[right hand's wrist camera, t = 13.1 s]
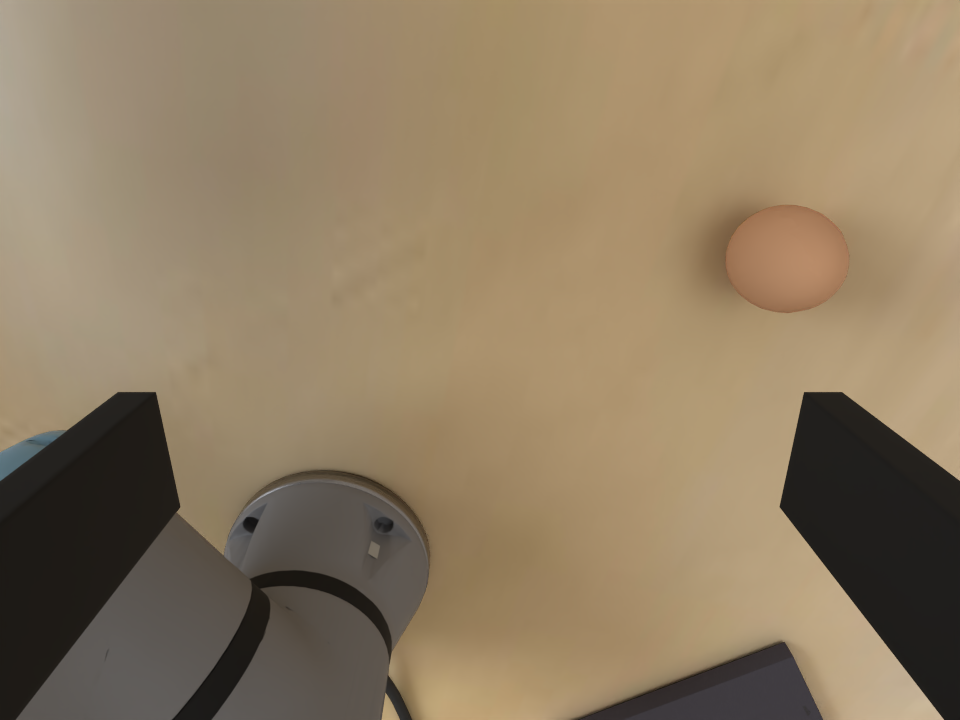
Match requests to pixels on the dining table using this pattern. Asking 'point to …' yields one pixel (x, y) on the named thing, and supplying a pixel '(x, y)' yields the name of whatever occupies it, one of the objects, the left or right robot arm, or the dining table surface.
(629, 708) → the notebook
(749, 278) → the egg
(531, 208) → the dining table surface
